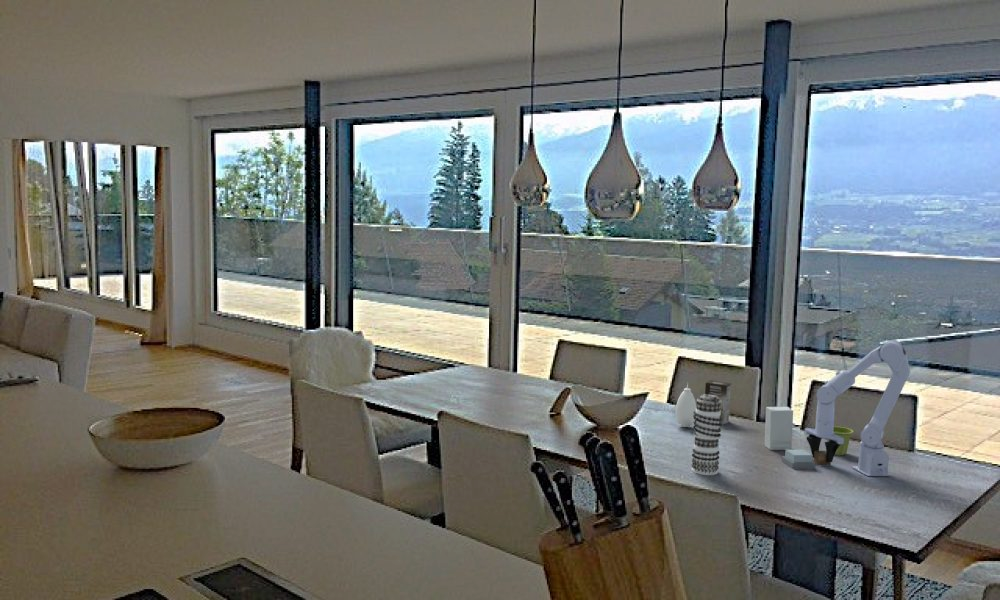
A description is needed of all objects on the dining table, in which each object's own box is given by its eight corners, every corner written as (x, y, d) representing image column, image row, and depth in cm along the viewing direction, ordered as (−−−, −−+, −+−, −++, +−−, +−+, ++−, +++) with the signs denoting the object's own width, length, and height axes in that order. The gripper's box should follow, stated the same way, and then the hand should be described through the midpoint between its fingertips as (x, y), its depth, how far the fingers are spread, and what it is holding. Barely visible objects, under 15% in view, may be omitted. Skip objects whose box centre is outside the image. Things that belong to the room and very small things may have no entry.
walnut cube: (830, 465, 285) (831, 453, 285) (819, 465, 284) (820, 454, 284) (824, 461, 289) (825, 450, 288) (813, 462, 288) (814, 450, 288)
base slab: (814, 470, 281) (815, 462, 281) (792, 470, 280) (792, 463, 280) (803, 463, 289) (804, 456, 289) (781, 463, 288) (781, 456, 288)
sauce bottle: (699, 428, 330) (702, 383, 328) (685, 430, 326) (688, 384, 324) (684, 423, 337) (687, 379, 335) (670, 426, 332) (673, 381, 330)
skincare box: (785, 446, 308) (788, 406, 306) (792, 450, 302) (794, 410, 300) (763, 445, 307) (765, 405, 306) (768, 450, 301) (771, 409, 300)
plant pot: (853, 458, 294) (855, 433, 294) (825, 455, 296) (827, 431, 295) (848, 451, 304) (850, 427, 303) (820, 448, 305) (822, 425, 305)
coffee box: (702, 421, 342) (704, 382, 340) (707, 418, 347) (709, 379, 346) (724, 424, 337) (726, 385, 335) (729, 421, 342) (731, 382, 341)
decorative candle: (684, 468, 277) (688, 393, 274) (707, 465, 280) (711, 392, 278) (701, 476, 268) (705, 399, 266) (725, 474, 272) (729, 397, 269)
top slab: (812, 462, 281) (812, 455, 281) (793, 462, 281) (794, 455, 280) (803, 456, 288) (803, 449, 288) (784, 456, 287) (785, 449, 287)
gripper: (851, 424, 281) (848, 463, 282) (815, 414, 293) (812, 452, 295) (837, 426, 277) (834, 466, 279) (801, 416, 290) (798, 455, 291)
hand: (822, 459), depth 287 cm, fingers closed on walnut cube, 5 cm apart
